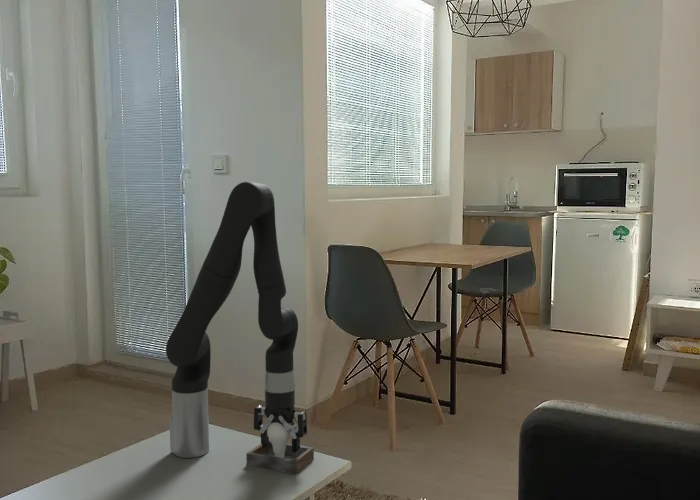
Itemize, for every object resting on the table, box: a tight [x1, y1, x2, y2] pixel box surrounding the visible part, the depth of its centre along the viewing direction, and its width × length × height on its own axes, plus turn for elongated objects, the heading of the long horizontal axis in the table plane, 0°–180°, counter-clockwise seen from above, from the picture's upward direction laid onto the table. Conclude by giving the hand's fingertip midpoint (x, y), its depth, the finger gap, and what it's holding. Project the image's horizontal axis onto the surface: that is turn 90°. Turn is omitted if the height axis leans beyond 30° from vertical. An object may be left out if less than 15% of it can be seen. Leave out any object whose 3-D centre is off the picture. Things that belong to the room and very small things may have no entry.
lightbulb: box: [267, 422, 291, 458], centre depth 174 cm, size 6×6×11 cm
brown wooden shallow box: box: [245, 439, 315, 475], centre depth 174 cm, size 14×10×3 cm
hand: (280, 449), depth 174 cm, fingers open, 8 cm apart
